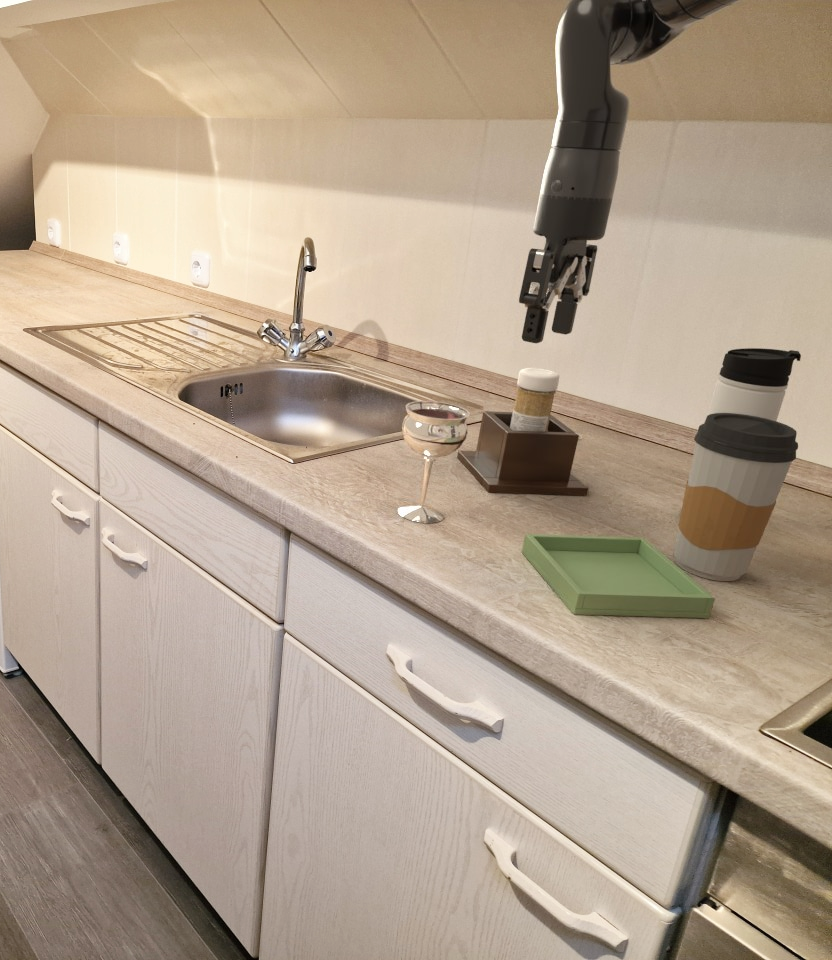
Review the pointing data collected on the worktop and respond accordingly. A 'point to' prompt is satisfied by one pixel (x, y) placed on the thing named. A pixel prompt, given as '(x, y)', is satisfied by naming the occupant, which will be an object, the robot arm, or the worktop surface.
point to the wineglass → (432, 445)
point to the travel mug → (753, 382)
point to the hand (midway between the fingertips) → (546, 337)
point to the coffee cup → (731, 492)
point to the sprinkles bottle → (534, 399)
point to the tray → (615, 576)
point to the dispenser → (524, 458)
